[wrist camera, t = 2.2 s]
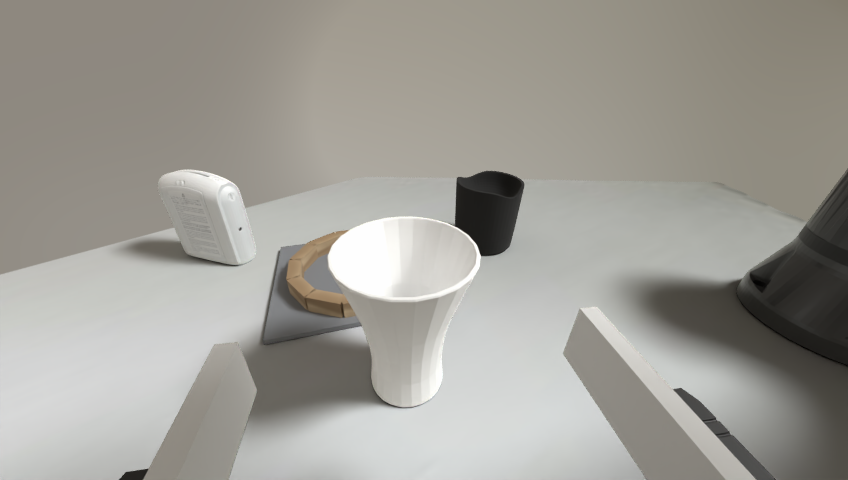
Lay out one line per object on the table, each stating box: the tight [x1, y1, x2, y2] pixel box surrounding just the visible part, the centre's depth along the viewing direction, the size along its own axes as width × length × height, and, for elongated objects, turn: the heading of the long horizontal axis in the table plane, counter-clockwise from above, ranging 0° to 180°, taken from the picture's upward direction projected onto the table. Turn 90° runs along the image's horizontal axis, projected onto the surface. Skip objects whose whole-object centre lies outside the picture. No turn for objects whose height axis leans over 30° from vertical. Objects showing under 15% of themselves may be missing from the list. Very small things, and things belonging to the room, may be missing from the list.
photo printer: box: [158, 170, 257, 265], centre depth 42 cm, size 10×4×12 cm, turn 74°
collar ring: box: [286, 230, 356, 318], centre depth 40 cm, size 16×16×2 cm
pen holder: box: [455, 171, 524, 255], centre depth 47 cm, size 9×9×10 cm
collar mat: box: [263, 244, 362, 345], centre depth 41 cm, size 20×18×1 cm
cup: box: [327, 217, 481, 407], centre depth 25 cm, size 10×10×14 cm
